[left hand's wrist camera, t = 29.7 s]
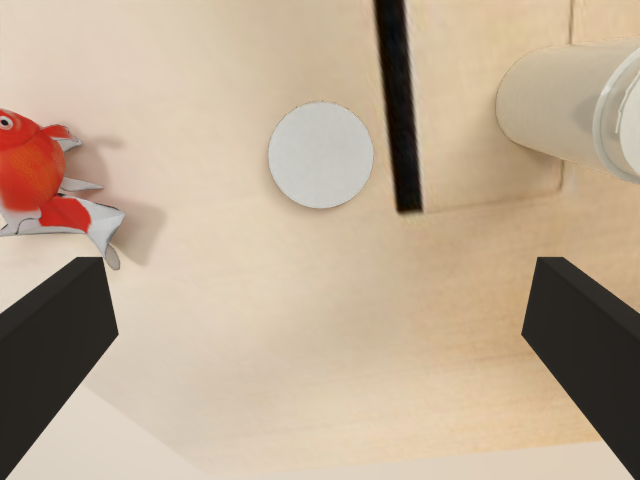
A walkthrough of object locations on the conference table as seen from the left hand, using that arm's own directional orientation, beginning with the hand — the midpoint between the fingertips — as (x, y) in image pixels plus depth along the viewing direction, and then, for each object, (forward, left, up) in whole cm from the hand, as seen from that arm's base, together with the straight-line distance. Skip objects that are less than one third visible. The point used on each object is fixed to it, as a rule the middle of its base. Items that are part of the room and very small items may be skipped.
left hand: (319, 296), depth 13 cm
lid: (0, 0, -25) cm, 25 cm away
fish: (-18, -12, -26) cm, 34 cm away
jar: (+15, +13, -26) cm, 33 cm away
